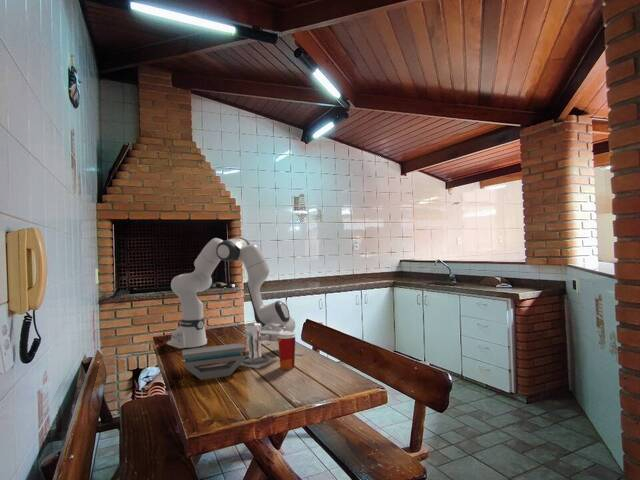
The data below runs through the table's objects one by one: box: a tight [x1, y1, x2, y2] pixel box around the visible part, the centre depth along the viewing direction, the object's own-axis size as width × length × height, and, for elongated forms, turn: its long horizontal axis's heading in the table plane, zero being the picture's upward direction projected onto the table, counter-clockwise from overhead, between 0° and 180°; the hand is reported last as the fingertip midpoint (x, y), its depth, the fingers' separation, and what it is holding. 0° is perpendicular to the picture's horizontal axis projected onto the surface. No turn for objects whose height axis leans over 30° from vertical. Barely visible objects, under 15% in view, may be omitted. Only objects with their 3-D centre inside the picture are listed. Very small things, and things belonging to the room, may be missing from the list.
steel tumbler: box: [246, 322, 263, 359], centre depth 175 cm, size 7×7×15 cm
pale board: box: [239, 356, 278, 369], centre depth 175 cm, size 14×14×1 cm
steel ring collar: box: [242, 353, 270, 365], centre depth 175 cm, size 12×12×1 cm
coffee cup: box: [277, 331, 297, 371], centre depth 166 cm, size 8×8×15 cm
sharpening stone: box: [181, 342, 247, 381], centre depth 159 cm, size 25×8×11 cm, turn 112°
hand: (253, 338), depth 174 cm, fingers closed on steel tumbler, 6 cm apart
